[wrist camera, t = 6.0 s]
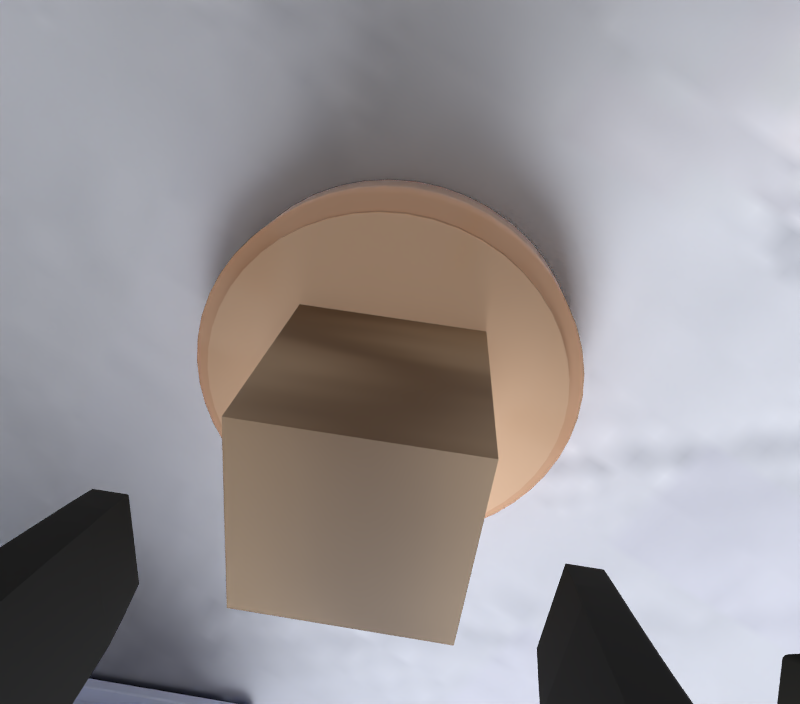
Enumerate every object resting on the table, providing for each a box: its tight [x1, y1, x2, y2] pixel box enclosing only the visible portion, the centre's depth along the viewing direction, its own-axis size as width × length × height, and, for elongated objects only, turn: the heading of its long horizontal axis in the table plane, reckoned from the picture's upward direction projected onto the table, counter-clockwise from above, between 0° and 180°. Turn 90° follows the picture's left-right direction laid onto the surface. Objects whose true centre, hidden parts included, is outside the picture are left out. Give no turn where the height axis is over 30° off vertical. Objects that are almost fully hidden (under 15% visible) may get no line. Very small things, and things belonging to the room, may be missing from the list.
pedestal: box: [197, 179, 584, 518], centre depth 15 cm, size 10×10×2 cm
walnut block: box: [222, 304, 499, 645], centre depth 12 cm, size 4×4×5 cm
